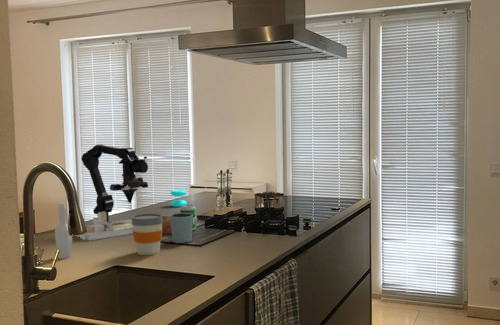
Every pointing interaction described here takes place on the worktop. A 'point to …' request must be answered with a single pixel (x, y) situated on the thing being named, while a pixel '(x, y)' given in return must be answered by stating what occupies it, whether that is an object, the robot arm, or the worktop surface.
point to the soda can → (191, 210)
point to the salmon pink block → (90, 229)
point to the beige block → (98, 228)
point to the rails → (111, 231)
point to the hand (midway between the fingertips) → (129, 202)
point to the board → (120, 226)
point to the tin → (166, 225)
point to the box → (84, 236)
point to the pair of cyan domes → (177, 194)
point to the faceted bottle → (63, 233)
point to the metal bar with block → (103, 221)
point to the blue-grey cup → (181, 227)
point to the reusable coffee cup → (147, 233)
